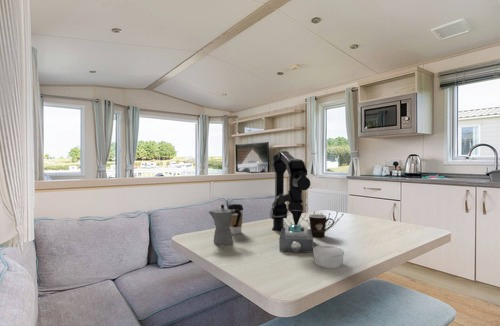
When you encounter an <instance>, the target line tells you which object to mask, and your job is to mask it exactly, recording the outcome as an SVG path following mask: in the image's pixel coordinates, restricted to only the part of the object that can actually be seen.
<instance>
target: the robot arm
mask: <svg viewBox="0 0 500 326" xmlns="http://www.w3.org/2000/svg"><path fill="white" fill-rule="evenodd" d="M270 164H271V168H272V169H271V170H273V173H274V177H275V178H274V201H273V202H272V204H271V208H270V212H269V218H270V219H272V222H273V223H272V225H273V226H272V229H271V230H272V231H281V229H282V228H283V229H286V226H285V224H284V223H285V222H284V219H287V218H288V212H289V213H291V214H292V215H291V216H292V219H293V225H294V224H295V225H299V221H300V219H301V216H302V214H303V211H304V204H303V201H304V200H303V191H307V190H308V189H309V188H310V186H311V180H310V179H309V177H307V176H308V169H307V166H306V164H305V162H304V161H303V159H301V158H295V157H294V156H292V155H291V154H290V152H289V151H287V150H280V151H278V152H277V153H276V154H275V155H273V156H272V158H271V161H270ZM286 171H287V173H288V187H289V188H288V192H287V193H284V188H285V187H284V186H285V185H284V182H285V181H284V180H285V179H284V178H285V177H284V176H285V175H284V174H285V173H286ZM286 203H288V205H287V204H286Z"/></svg>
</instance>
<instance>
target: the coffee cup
mask: <svg viewBox="0 0 500 326" xmlns="http://www.w3.org/2000/svg"><path fill="white" fill-rule="evenodd" d="M227 209H230V210H235V209H238V210H239V211H240V212H241V217H240V220H239V223H238V226H237V227H233V225H235V224H236V220H237V215H238V214H237V213H235V214H232V219H231V225H230V229H231V233H232V235H239V233H240V234H242V229H243V227H242V225H243V210H244V207H243V204H240V203H239V204H238V203H236V204H235V203H233V204H228V207H227Z"/></svg>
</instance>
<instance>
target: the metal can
mask: <svg viewBox="0 0 500 326" xmlns="http://www.w3.org/2000/svg"><path fill="white" fill-rule="evenodd" d="M289 226H290V231H301V227H302V226H301V224H297V225H295V224H294V223H293V224H289Z"/></svg>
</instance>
